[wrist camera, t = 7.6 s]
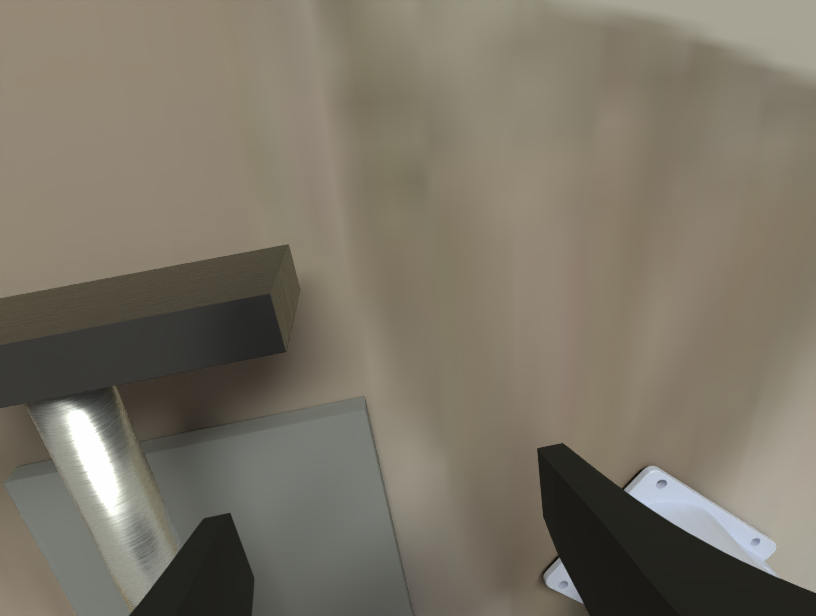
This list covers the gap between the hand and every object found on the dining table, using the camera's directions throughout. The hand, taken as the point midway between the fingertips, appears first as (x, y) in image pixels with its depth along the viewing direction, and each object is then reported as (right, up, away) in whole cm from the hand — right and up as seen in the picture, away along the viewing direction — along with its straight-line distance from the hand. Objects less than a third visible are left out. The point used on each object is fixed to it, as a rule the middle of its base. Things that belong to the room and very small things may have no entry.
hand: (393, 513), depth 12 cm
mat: (-6, -12, +14) cm, 20 cm away
